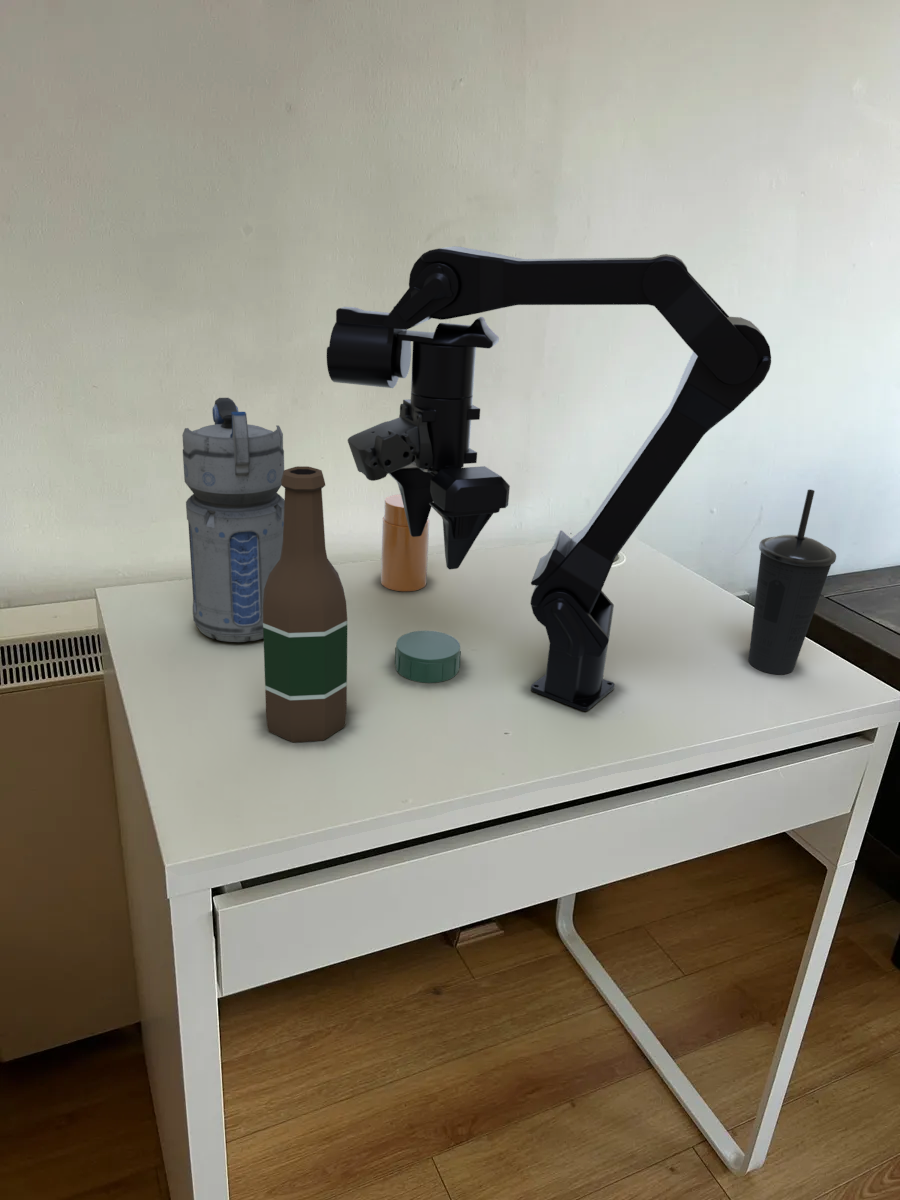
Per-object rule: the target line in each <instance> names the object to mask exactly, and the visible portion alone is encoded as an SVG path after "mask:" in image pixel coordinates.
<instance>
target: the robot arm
mask: <svg viewBox="0 0 900 1200" xmlns="http://www.w3.org/2000/svg"><path fill="white" fill-rule="evenodd" d="M408 278H409V279H408V289H407V290H406V292H405V293H404V294H403V296H402V297H401V298H400V299H399V301H397V303H396V304H395V305H394V306H393V308H392V310H391V311H390V312H386V311H385V312H384V311H373V310H364V309H361V308H359V307H354V306H342V307H339V308H337V309H336V310H335V322H334V324H333V327H332V330H331V333H330V338H329V345H328V346H327V347H326V368H327V373H328V376H329V378H330V380H331V381H332V382H333V383H339V384H348V385H358V386H367V387H368V386H369V387H377V388H387V389H393V388H395V387H396V385H397V382H399V379H406V378H407V377H408V374H409V371H410V367H411V378H410V379H411V382H410V383H411V384H410V399H402V403H401V404H399V416H398V417H397V418H394V419H391V420H388V421H384V422H381V423H378V424H376V425H373V426H372V427H369V428H367V429H365V430H362V431H360V432H357V433H354V434H353V435H351V436H350V437H348V438H347V443H348V446H349V449H350V452H351V455H352V457H353V460H354V464H355V466H356V469H357V471H358V472H359V473H362V475H364V476H365V477H366V479H367V480H368V481H372V482H373V481H375V482H376V481H379V480H382V479H384V478H386V477H387V476H388V475H389V476H390V477H391V478H392V479H393V480H394V481H395V482H396V483H397V485H398V489H399V494H401V497H402V501H403V506H404V510H405V514H406V518H407V522H408V527H409V531H410V535H411V536H412V537H417V536H421V535H422V533H423V530H424V528H425V525H426V522H427V519H429V516H430V513H431V510H432V509H433V510H434V512H436V513H437V514H438V515H439V516H440V517H441V519H442V528H443V529H442V530H443V544H444V555H445V557H444V559H445V565H446V569H448V570H457V569H459V568H460V566H461V565H462V563H463V561H464V560H465V558H466V556H467V555H468V553H469V551H470V549H471V548H472V546H473V545H474V543H475V541H476V539H477V538H478V536H479V535H480V533H481V531H483V529H484V528H485V526H486V524H487V523H488V522H489V520H490V519H491V518H492V516H493V514H498V513H500V510H501V509H506V508H507V507H508V506H509V500H510V489H511V488H510V487H511V486H510V484H509V483H508V482H507V481H506V480H505V479H504V477H502V476H501V475H500V474H499V473H496V472H495V471H493V470H492V469H490V468H489V467H487V466H485V465H483V466H469V467H467V466H466V467H464V465H466V464H468V465H469V464H477V460H478V452H477V451H475V450H473V449H472V448H470V443H471V431H472V430H471V428H472V421H477V420H479V421H480V419H481V408H480V407H479V406H476V405H474V404H473V400H474V399H473V397H474V384H475V370H476V355H477V349H491V348H493V347H494V346H495V345H497V344H498V343H499V342H500V337H499V336H498V335H497V334H496V333H495V332H494V330H492V329H491V328H490V327H489V325H488V324H487V322H486V319H485V317H483V316H480V317H477V318H476V319H474V321H473V322H472V323H471V324H461V323H459V324H458V323H450V322H449V323H448V322H439V323H438V324H437V326H436V328H435V330H434V331H418V330H409V329H412V328H414V327H416V326H418V325H420V324H424V323H425V322H427V321H430V320H431V319H435V320H440V321H441V320H451V319H455V318H460V317H466V316H471V315H472V316H473V315H477V314H481V313H487V312H491V311H496V310H501V309H504V308H510V307H515V306H642V305H643V306H646V305H647V306H653V307H654V308H655V309H656V310H657V312H659V313H660V314H661V316H662V317H663V318H664V319H665V320H666V321H667V323H668V324H669V325H670V326H671V327H672V329H673V330H674V331H675V332H676V334H678V336H679V337H680V338H681V339H682V340H683V342H684V343H685V344H686V345H687V347H689V348H690V349H691V351H692V353H691V355H690V357H689V360H688V362H687V364H686V366H685V368H684V370H683V373H682V375H681V377H680V380H679V382H678V385H677V388H676V390H675V391H674V395H673V396H672V399H671V400H670V403H669V406H668V407H667V409H665V411H664V413H663V414H662V416H661V417H660V418H659V420H658V422H657V423H656V425H654V427H653V429H652V430H651V431H650V433H649V434H648V436H647V437H646V439H645V440H644V441H643V443H642V445H641V446H640V448H639V449H638V450H637V452H636V453H635V454H634V456H633V458H632V459H631V461H630V462H629V463H628V464H627V466H626V468H625V469H624V470H623V472H622V474H621V475H620V476H619V478H618V479H617V481H616V482H615V483H614V485H613V486H612V488H611V489H610V491H609V492H608V494H607V495H606V497H605V498H604V499H603V500H602V502H601V504H600V505H599V507H598V508H597V510H596V511H595V512H594V514H593V515H592V516H591V518H590V520H589V521H588V523H586V525H585V526H584V527H583V528H582V529H581V530H580V531H578V532H577V533H576V534H575V535H573V536H572V537H570V536H569V535H567V533H566V532H564V531H563V530H559V532H558V534H557V536H556V538H555V541H554V543H553V545H552V547H551V549H550V550H549V551H548V552H547V553H546V554H545V555H543V556H541V557H540V558H539V561H538V562H537V565H536V568H535V571H534V573H533V576H532V579H531V582H530V584H531V586H534V589H533V592H532V593H531V597H530V606H531V610H532V614H533V616H534V618H535V619H536V620H537V621H538V623H540V625H542V626H543V627H544V628H545V631H546V634H547V638H548V641H549V642H548V643H549V645H548V652H547V653H548V654H547V663H546V672H545V674H544V675H543V676H542V677H540V678H539V679H537V680H536V681H534V682H533V683H532V684H531V685H530V691H532V692H533V693H536V694H539V695H541V696H544V697H546V698H548V699H551V700H554V701H556V702H559V703H561V704H564V705H567V706H570V707H572V708H574V709H577V710H580V711H583V712H587V711H590V709H592V708H593V707H594V706H595V705H596V704H598V703H599V702H600V701H601V700H602V699H603V698H605V697H606V696H607V695H608V694H609V693H611V692H612V691H613V690H614V689H615V687H616V686H615V685H616V684H615V683H614V682H613V681H610V680H607V679H605V678H604V674H605V666H606V659H607V653H608V645H609V641H610V636H611V630H612V629H611V628H612V620H613V615H614V607H615V605H614V603H613V602H612V600H610V599H609V597H608V596H607V594H605V593H604V591H602V590H603V588H604V585H605V583H606V580H607V578H608V575H609V574H610V571H611V568H612V566H613V563H614V561H615V560H616V558H617V556H618V555H619V553H620V552H621V550H622V549H623V548H624V546H625V544H626V543H627V542H628V541H629V539H630V538H631V536H632V535H633V534H634V533H635V530H637V529H638V527H639V525H640V524H641V522H642V521H643V519H645V517H646V516H647V514H648V513H649V512H650V510H651V509H652V507H653V506H654V505H655V503H656V502H657V501H658V499H659V498H660V496H661V495H662V494H663V493H664V491H665V490H666V489H667V487H668V485H669V484H670V482H671V481H672V480H673V478H674V477H675V476H676V474H677V473H678V472H679V470H681V469H680V468H681V467H682V466H683V465H684V463H685V462H686V460H687V459H688V458H689V456H690V455H691V454H692V452H693V451H694V449H695V448H696V447H697V445H699V442H701V440H702V438H703V437H704V436H705V434H707V433H708V432H709V431H710V430H712V428H714V427H715V426H716V425H718V423H720V422H721V421H722V420H723V419H726V417H727V416H729V415H730V414H731V413H733V412H734V411H735V410H736V409H737V408H738V407H739V406H740V405H741V404H742V403H743V402H744V401H745V400H746V399H747V398H749V396H750V395H751V394H752V393H754V391H755V390H756V389H757V388H758V387H760V385H761V384H762V383H763V381H765V379H766V377H767V375H768V373H769V371H770V369H771V365H772V354H771V347H770V345H769V342H768V341H767V339H766V337H765V335H764V334H763V332H762V331H761V330H760V328H759V327H757V325H755V324H754V323H753V322H752V321H750V320H749V319H747V318H743V317H740V316H730V315H729V314H727V312H726V311H725V310H724V309H723V308H722V306H721V305H720V304H719V303H718V302H717V301H716V300H715V299H714V297H712V296H711V294H709V292H708V291H707V290H706V289H705V288H704V287H703V286H702V285H701V284H700V283H699V282H698V281H697V280H696V278H694V276H693V275H692V274H691V273H690V272H689V270H688V267H687V265H686V264H685V263H684V261H683V260H682V259H681V258H680V257H678V256H676V255H673V254H667V253H664V254H659V255H656V256H652V257H588V258H587V257H585V258H584V257H583V258H577V257H576V258H575V257H574V258H522V257H521V258H520V257H515V256H510V255H506V254H501V253H496V252H491V251H487V250H482V249H476V248H475V249H474V248H469V247H465V246H464V247H463V246H456V245H454V246H447V247H442V248H434V249H430V250H429V249H428V251H426V252H424V253H422V254H421V255H420V257H419V258H418V259H417V260H416V261H415V262H414V263H413V266H412V268H411V270H410V273H409V277H408Z"/></svg>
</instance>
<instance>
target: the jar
mask: <svg viewBox="0 0 900 1200" xmlns="http://www.w3.org/2000/svg"><path fill="white" fill-rule="evenodd" d="M383 513H384V514H383V517H382V523H381V525H382V526H381V527H382V528H381V561H380V584H381V586H383V587H385V588H386V589H389V590H392V591H396V592H415V591H418V590H421V589H423V588H425V587H426V585H427V581H428V580H427V578H428V577H427V576H428V560H429V559H428V558H429V539H430V538H429V537H430V519H429V518H428V519H427V522H426V525H425V528H424V530H423V533H422V535H421V536H417V537H412V536H411V535H410V531H409V527H408V522H407V518H406V514H405V510H404V506H403V501H402V497H401V493H399V494H392V495H388V496H387V497H385V498H384V511H383Z"/></svg>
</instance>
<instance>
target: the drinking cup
mask: <svg viewBox="0 0 900 1200" xmlns="http://www.w3.org/2000/svg"><path fill="white" fill-rule="evenodd" d="M814 495H815V489H807V491H806V495H805V501H804V505H803V508H802V513H801V518H800V522H799V527H798V530H797V534H780V535H777V536H769V537H765V538H763V539H761V541H760V542H759V544H758V548H759V551H760V555H759V564H758V572H757V583H756V591H755V600H754V608H753V617H752V626H751V634H750V644H749V651H748V663H749V664H750V665H751V667H753V668H755V669H757V670H758V671H761V672H763V673H767V674H771V675H788V674H791V673H792V672H794V669H795V666H796V664H797V661H798V659H799V655H800V653H801V651H802V646H803V644H804V642H805V638H806V637H807V633H808V630H809V629H810V628H809V627H810V625H811V621H812V620H813V616H814V614H815V611H816V609H817V605H818V603H819V601H820V598H821V593H822V591H823V589H824V586H825V583H826V581H827V578H828V575H829V572H830V569H831V566H832V565H833V564H834V563H836V560H837V553H836V552H835V551H834V550H833V549H832V548H830V547H828V546H827V545H825V544H823V543H822V542H820V541H818V540H816V539H814V538H811V537H808V536H805V535H806V530H807V526H808V521H809V517H810V514H811V513H810V512H811V510H812V509H811V508H812V503H813V500H814Z"/></svg>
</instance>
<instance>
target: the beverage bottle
mask: <svg viewBox="0 0 900 1200" xmlns="http://www.w3.org/2000/svg"><path fill="white" fill-rule="evenodd" d="M211 410H212V411H211V412H212V421H213V423H214V424H209V425H206V426H202V427H200V428H198V429H195V430H191V429H190V428H189V427H185V428H184V430H183V432H182V435H181V436H182V448H183V449H182V463H183V479H184V483H185V484H186V486H187V487H188V488H189V490H190V491H191V492H192V493H193V494H191V495H190V496H189V497H188V498H187V499H186V501H185V510H186V513H185V514H186V520H187V523H188V540H189V555H190V569H191V570H190V571H191V585H192V619H193V620H192V621H193V622H194V624H195V626H196V627H197V629H198V630H199V632H200V633H201V634H203V635H204V636H206V637H208V638H210V639H212V640H214V639H216V640H217V641H221V642H228V643H245V642H254V641H259V640H262V639H263V640H264V636H263V596H264V588H265V585H266V582H267V579H268V577H269V574H270V573H271V571H272V570H273V568H274V567H275V566H276V564H277V563H278V561H279V560H280V556H281V550H282V544H283V525H284V500H285V498H284V497H282V496H281V494H279V493H278V492H279V490H280V489H281V487H282V484H281V479H282V475H283V472H284V470H285V450H284V434H283V431H282V429H281V427H280V425H275V426H276V429H275V430H270V429H267V428H266V427H262V426H259V425H255V424H248V417H247V412H246V411H239V407H238V406H237V405H236V403H235V402H234V400H233V399H231V398H229V397H219V398H217V399H216V400H215V401H214V405H213V406H212V409H211Z"/></svg>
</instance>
